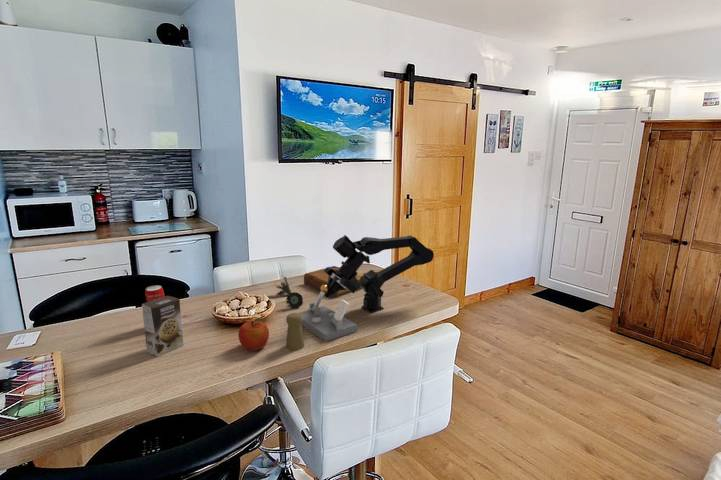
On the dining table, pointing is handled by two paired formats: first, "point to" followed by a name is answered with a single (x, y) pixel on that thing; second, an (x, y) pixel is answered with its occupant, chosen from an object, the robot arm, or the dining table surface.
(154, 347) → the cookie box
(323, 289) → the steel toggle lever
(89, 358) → the dining table surface
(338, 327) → the switch panel
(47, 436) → the dining table surface
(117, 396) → the dining table surface
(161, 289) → the beverage can
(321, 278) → the diary
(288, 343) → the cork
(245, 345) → the fruit
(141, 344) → the dining table surface
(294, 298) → the artificial flower
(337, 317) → the cream paddle switch
